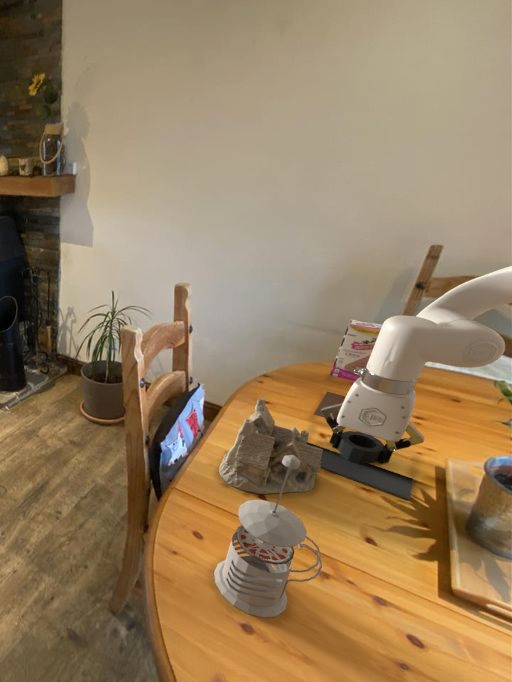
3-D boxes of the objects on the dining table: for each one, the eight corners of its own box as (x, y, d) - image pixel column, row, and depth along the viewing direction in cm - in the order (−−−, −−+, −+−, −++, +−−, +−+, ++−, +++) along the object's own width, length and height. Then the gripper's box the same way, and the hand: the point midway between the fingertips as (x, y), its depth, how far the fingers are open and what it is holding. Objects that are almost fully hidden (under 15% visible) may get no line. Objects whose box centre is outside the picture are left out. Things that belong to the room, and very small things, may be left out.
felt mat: (418, 453, 87) (419, 452, 87) (408, 500, 76) (409, 499, 76) (315, 421, 99) (316, 420, 98) (294, 458, 88) (295, 456, 88)
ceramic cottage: (207, 473, 85) (228, 412, 78) (240, 440, 94) (261, 384, 87) (293, 519, 75) (325, 454, 68) (320, 477, 84) (351, 417, 77)
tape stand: (396, 414, 99) (403, 399, 97) (388, 441, 91) (395, 426, 89) (325, 395, 108) (330, 381, 106) (312, 418, 100) (317, 403, 98)
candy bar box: (328, 379, 115) (347, 324, 108) (331, 372, 119) (349, 318, 111) (380, 391, 108) (404, 333, 101) (382, 383, 112) (405, 327, 104)
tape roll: (380, 453, 87) (386, 440, 85) (375, 470, 83) (381, 456, 81) (339, 440, 92) (344, 427, 90) (332, 455, 87) (337, 442, 86)
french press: (217, 549, 69) (249, 426, 58) (300, 578, 64) (354, 449, 52) (210, 598, 62) (246, 468, 50) (304, 636, 56) (368, 500, 45)
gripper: (328, 374, 82) (303, 445, 91) (451, 404, 71) (410, 483, 79) (336, 361, 87) (312, 430, 95) (453, 387, 76) (414, 463, 84)
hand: (356, 453), depth 87 cm, fingers closed on tape roll, 7 cm apart
